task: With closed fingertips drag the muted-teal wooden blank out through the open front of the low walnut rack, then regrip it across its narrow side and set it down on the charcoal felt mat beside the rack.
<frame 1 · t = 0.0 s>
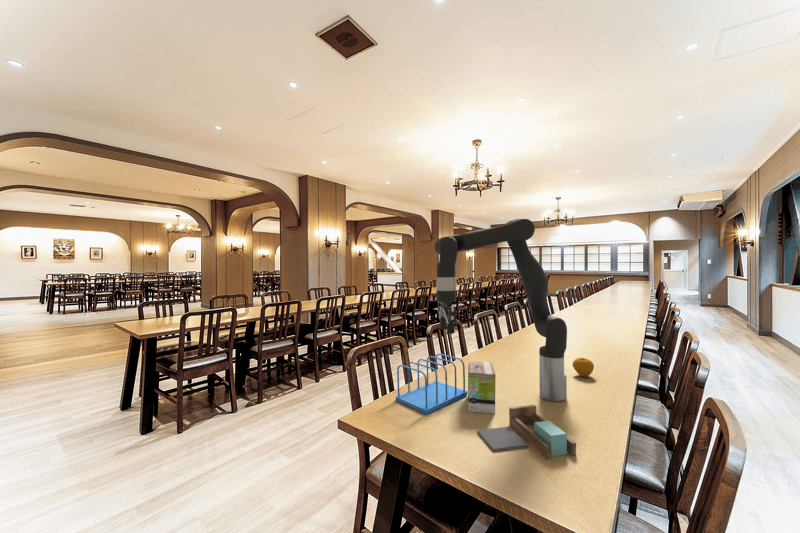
hand: (446, 331, 124), 29 cm above the table, fingers open, 8 cm apart
file sorter: (432, 399, 134), on the table
felt mat: (501, 439, 102), on the table
apple: (583, 376, 158), on the table
teal blank: (550, 447, 97), resting in rack
rack: (539, 438, 102), on the table
tea box: (481, 405, 127), on the table
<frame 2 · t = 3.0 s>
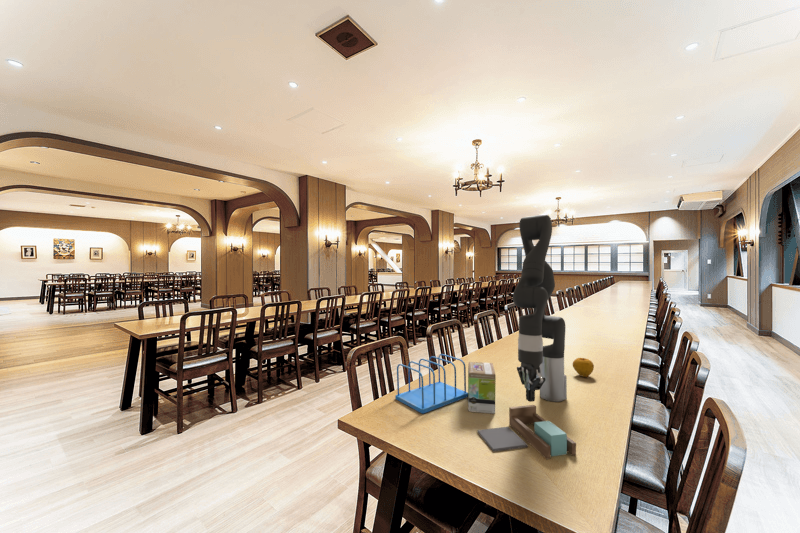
hand: (530, 400, 106), 10 cm above the table, fingers closed
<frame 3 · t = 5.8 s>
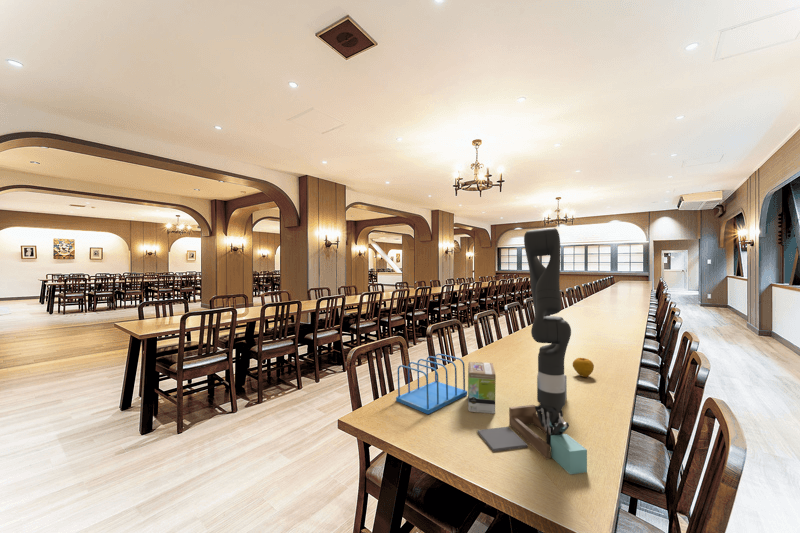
hand: (551, 445, 96), 1 cm above the table, fingers closed
teal blank: (568, 464, 89), on the table, touching hand
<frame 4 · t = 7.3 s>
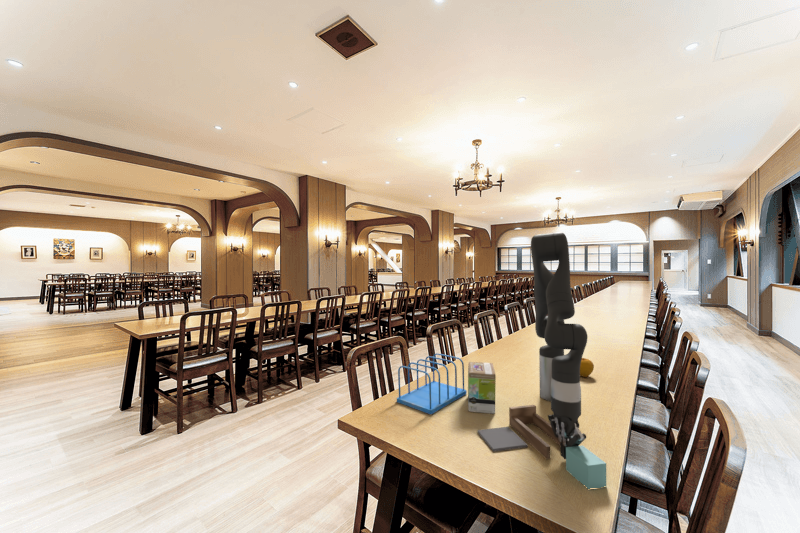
hand: (565, 457, 90), 1 cm above the table, fingers closed
teal blank: (585, 478, 83), on the table, touching hand
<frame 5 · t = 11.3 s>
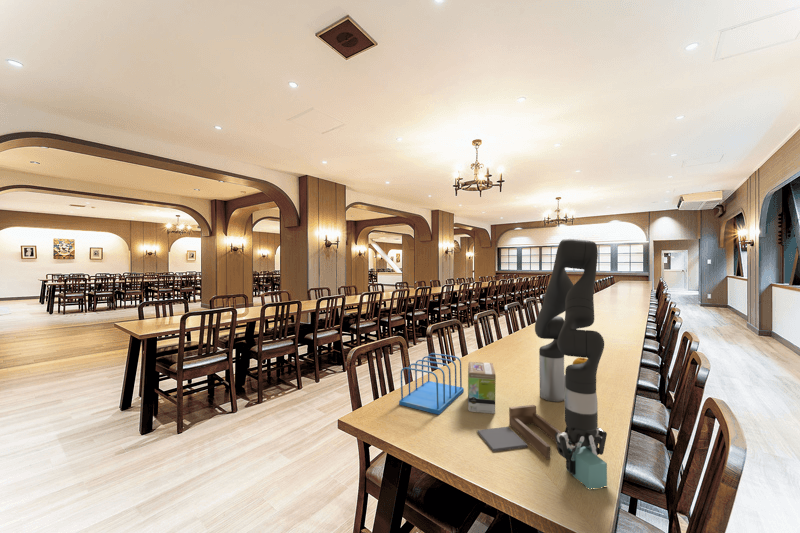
hand: (581, 471, 85), 1 cm above the table, fingers closed on teal blank, 5 cm apart
teal blank: (585, 478, 83), on the table, touching gripper
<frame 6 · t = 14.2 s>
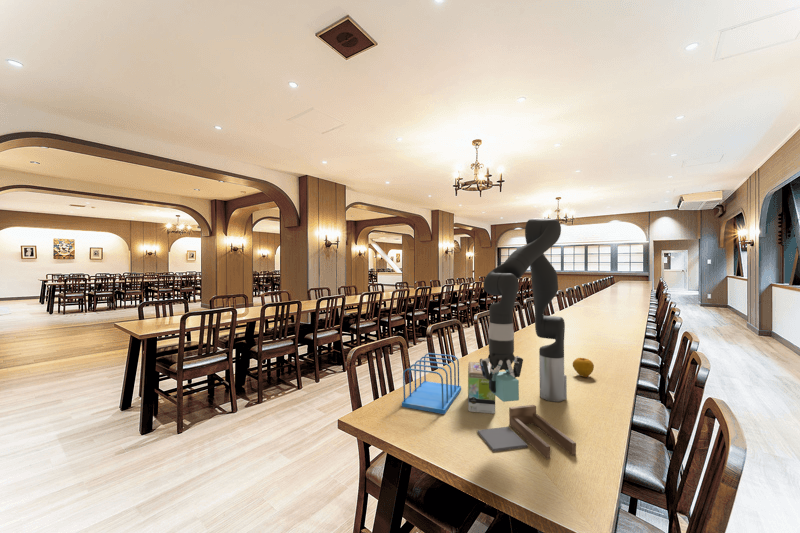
hand: (501, 391, 101), 15 cm above the table, fingers closed on teal blank, 5 cm apart
teal blank: (504, 395, 100), point 14 cm above the table, touching gripper
when the fingers open (3 cm above the table, at t = 17.0 s): teal blank drops 1 cm, resting on felt mat.
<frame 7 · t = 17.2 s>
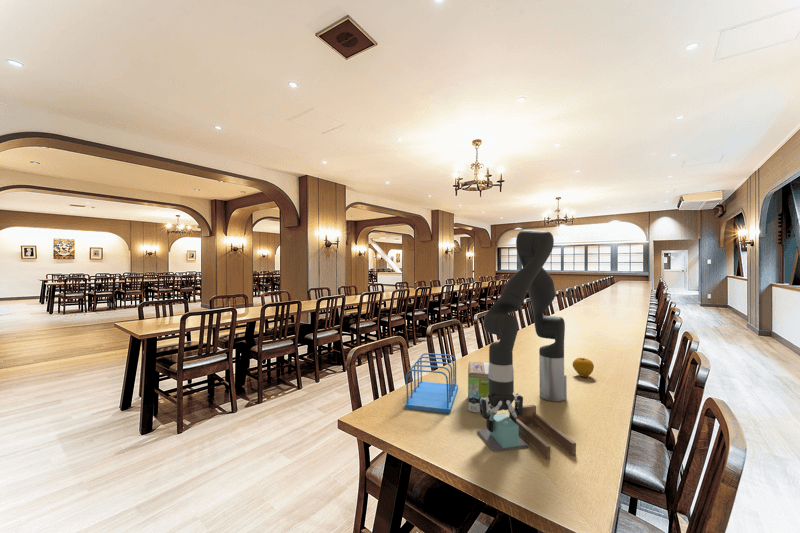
hand: (501, 429, 101), 3 cm above the table, fingers open, 6 cm apart
teal blank: (504, 439, 100), point 1 cm above the table, touching felt mat
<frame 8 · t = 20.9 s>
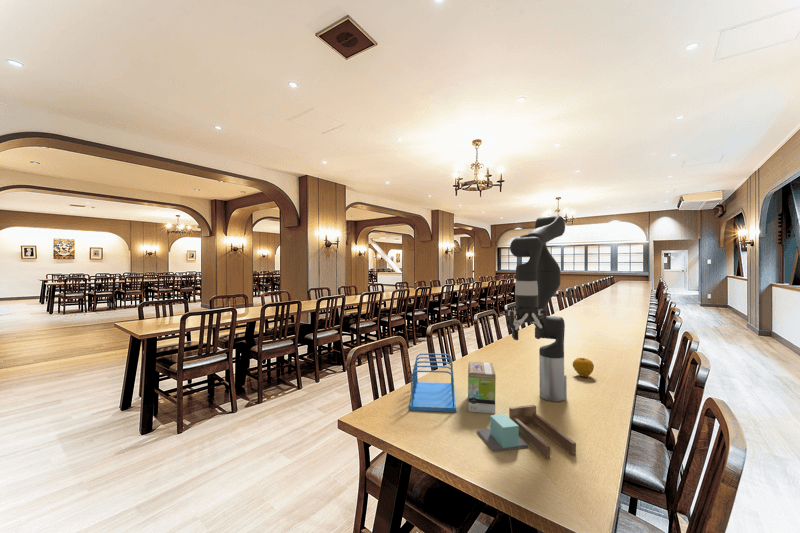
hand: (526, 339, 115), 28 cm above the table, fingers open, 8 cm apart
at the end: teal blank inside the target area on the felt mat (1.7 cm from its centre), point 0.8 cm above the felt mat's base; teal blank tilted 0°; the gripper is holding nothing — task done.
